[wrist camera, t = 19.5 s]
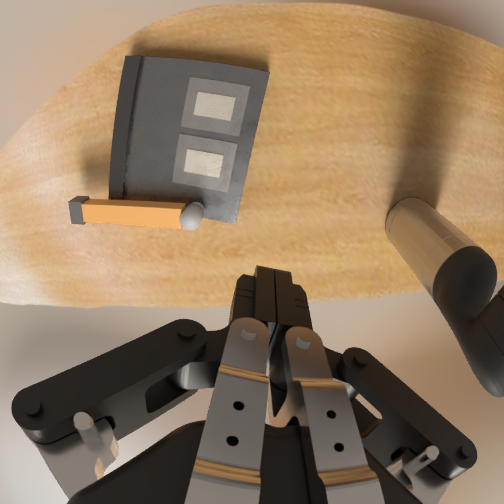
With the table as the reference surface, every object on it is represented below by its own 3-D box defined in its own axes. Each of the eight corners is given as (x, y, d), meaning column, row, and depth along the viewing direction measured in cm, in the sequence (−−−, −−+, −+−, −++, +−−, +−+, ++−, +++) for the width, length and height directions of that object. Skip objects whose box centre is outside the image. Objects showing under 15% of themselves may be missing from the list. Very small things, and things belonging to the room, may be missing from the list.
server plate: (269, 74, 36) (270, 71, 32) (236, 217, 46) (234, 227, 42) (135, 58, 34) (124, 55, 31) (117, 194, 45) (107, 202, 41)
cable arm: (77, 195, 40) (67, 202, 38) (204, 201, 40) (200, 208, 38) (80, 216, 42) (71, 224, 39) (203, 225, 42) (199, 234, 39)
